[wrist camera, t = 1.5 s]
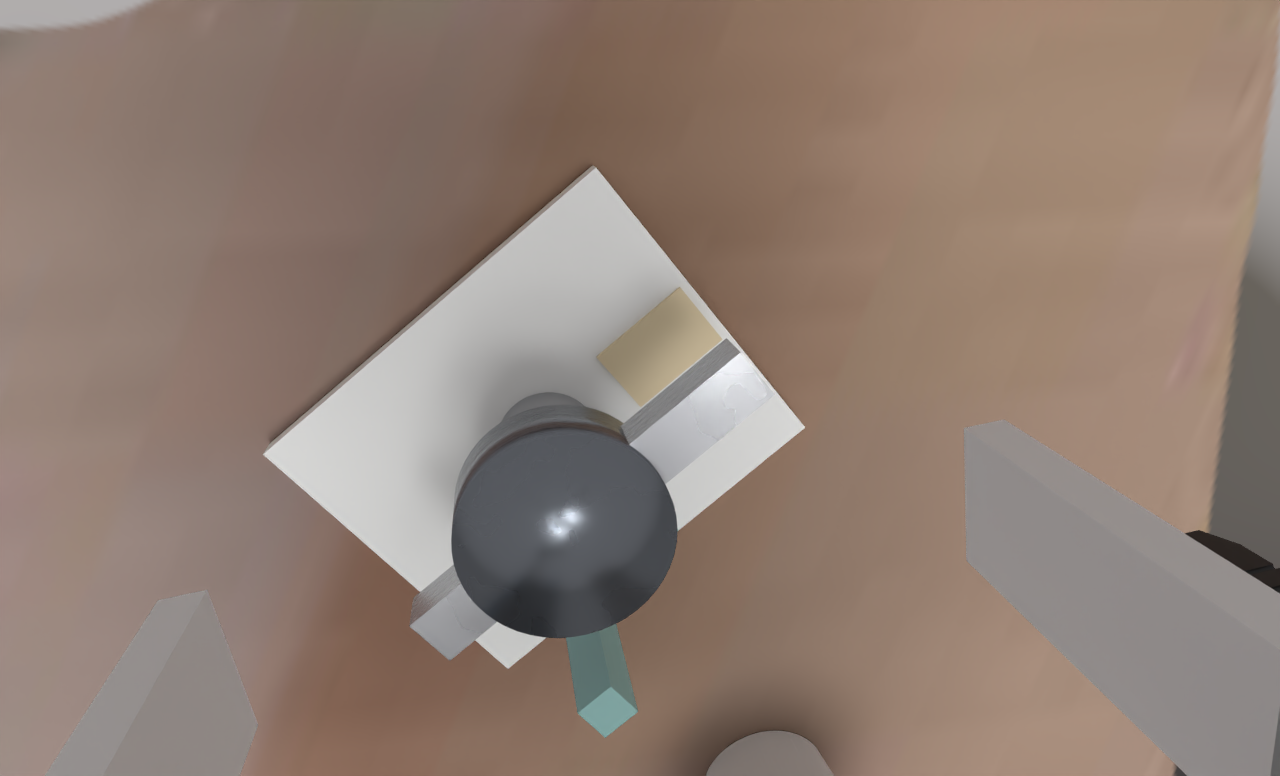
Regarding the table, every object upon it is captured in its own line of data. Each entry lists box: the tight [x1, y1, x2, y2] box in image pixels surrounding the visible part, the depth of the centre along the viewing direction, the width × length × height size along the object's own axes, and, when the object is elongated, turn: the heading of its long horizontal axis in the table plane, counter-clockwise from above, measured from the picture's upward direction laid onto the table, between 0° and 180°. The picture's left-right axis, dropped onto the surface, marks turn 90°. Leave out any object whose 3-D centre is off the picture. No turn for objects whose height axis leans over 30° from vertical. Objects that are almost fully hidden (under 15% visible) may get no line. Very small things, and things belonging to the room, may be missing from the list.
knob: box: [409, 338, 775, 660], centre depth 30 cm, size 15×8×3 cm, turn 129°
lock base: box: [263, 165, 805, 738], centre depth 34 cm, size 18×15×10 cm
